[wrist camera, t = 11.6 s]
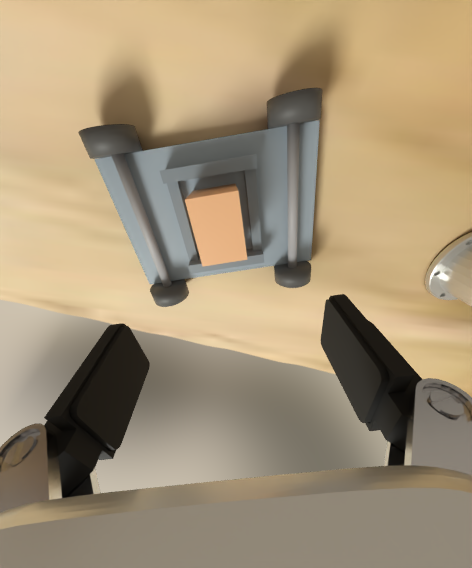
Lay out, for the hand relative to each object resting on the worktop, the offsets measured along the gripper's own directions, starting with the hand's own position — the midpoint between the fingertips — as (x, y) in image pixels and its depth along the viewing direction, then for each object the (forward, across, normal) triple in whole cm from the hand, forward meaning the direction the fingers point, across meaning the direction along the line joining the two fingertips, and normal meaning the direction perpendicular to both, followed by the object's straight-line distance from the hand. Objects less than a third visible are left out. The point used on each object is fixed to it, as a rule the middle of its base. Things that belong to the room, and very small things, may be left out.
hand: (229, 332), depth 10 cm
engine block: (+19, +1, -1) cm, 19 cm away
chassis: (+20, +1, -1) cm, 21 cm away
